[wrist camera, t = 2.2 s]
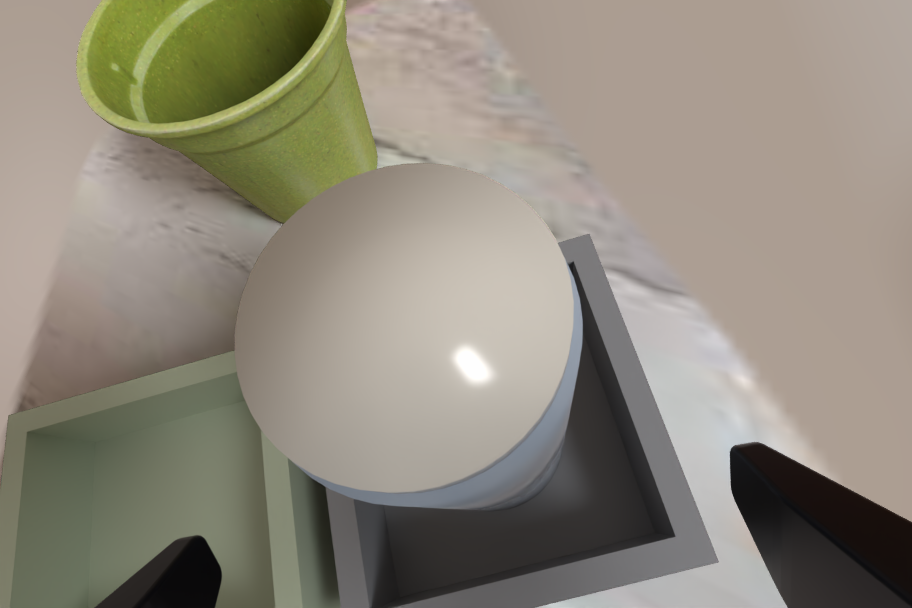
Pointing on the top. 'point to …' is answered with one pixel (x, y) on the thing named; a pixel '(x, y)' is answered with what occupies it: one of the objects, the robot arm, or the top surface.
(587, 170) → the top surface
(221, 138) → the plant pot
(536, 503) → the charcoal bin
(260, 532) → the sage bin
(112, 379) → the top surface
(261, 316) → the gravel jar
